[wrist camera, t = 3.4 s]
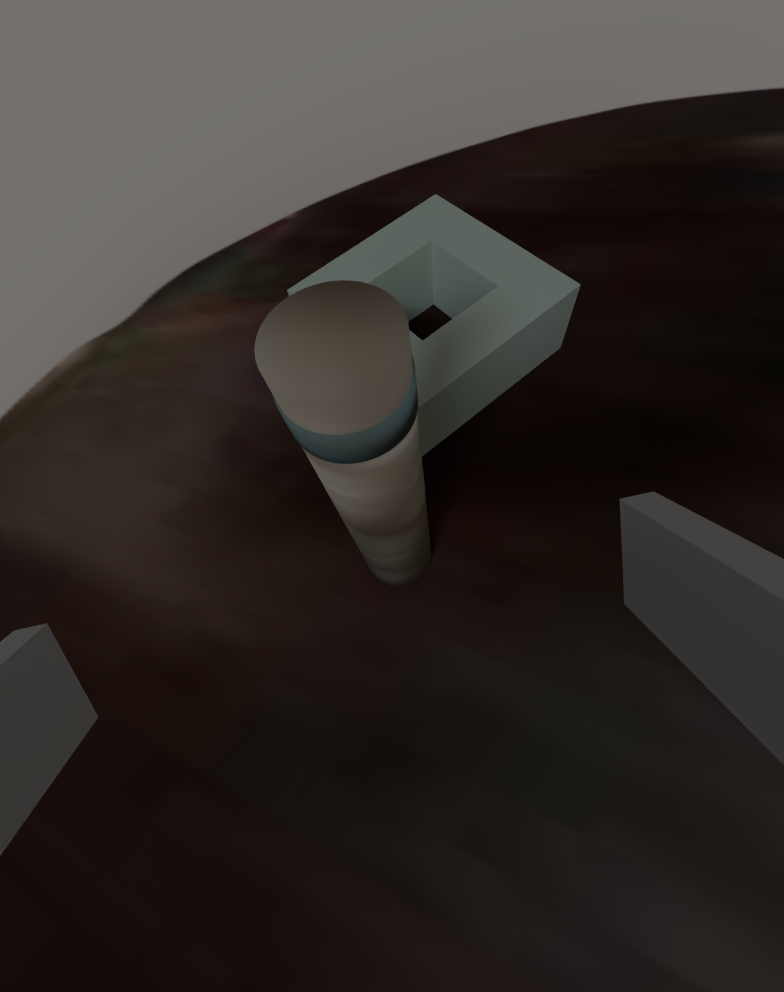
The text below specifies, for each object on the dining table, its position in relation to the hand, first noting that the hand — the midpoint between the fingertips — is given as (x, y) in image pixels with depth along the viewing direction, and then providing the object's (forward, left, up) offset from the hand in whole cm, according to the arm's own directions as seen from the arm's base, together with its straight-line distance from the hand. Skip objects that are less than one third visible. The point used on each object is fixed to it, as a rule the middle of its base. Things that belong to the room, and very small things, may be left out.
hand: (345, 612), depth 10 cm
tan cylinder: (-3, -4, -11) cm, 12 cm away
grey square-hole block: (-13, -13, -11) cm, 22 cm away
